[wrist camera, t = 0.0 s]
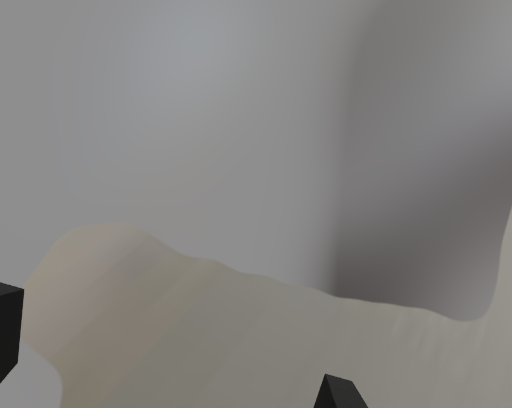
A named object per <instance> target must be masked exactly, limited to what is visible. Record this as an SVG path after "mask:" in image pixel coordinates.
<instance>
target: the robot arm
mask: <svg viewBox="0 0 512 408" xmlns="http://www.w3.org/2000/svg"><path fill="white" fill-rule="evenodd" d="M23 298H24V289H22V288H18V287H15V286H11V285H7V284H4V283H0V383H1V382H2V381H3V380H4V378H5V377H6V376H7V375H8V373H9V372H10V371H11V370H12V369H13V368H14V366H15V365H16V364H17V363H18V353H19V341H20V331H21V320H22V309H23ZM314 408H368V407H367V405H366V403H365V402H364V400H363V398H362V397H361V395H360V394H359V392H358V390H357V389H356V387H355V385H354V384H353V382H352V381H349V380H346V379H342V378H339V377H335V376H332V375H328V374H325V375H324V378H323V381H322V384H321V387H320V390H319V393H318V396H317V399H316V402H315V405H314Z"/></svg>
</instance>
